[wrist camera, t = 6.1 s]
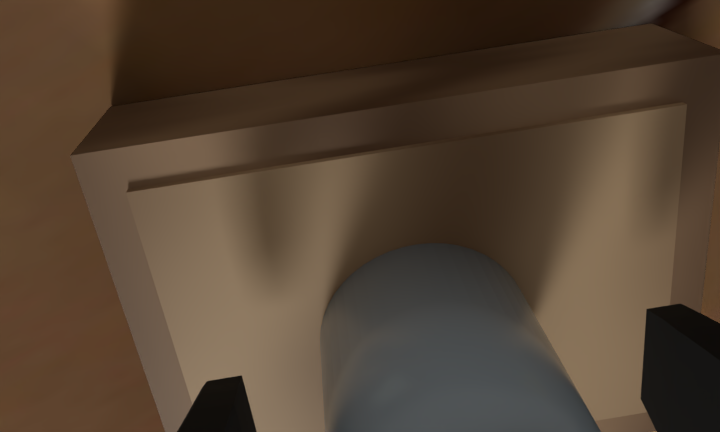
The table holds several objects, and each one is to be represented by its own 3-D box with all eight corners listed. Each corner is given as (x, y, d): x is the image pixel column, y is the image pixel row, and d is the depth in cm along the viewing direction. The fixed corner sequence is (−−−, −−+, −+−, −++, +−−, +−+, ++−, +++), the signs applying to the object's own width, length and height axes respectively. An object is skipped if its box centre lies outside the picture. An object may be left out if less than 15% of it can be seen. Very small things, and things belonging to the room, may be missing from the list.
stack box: (651, 23, 15) (734, 54, 12) (632, 349, 19) (691, 429, 16) (110, 106, 15) (67, 158, 12) (206, 419, 19) (190, 514, 16)
